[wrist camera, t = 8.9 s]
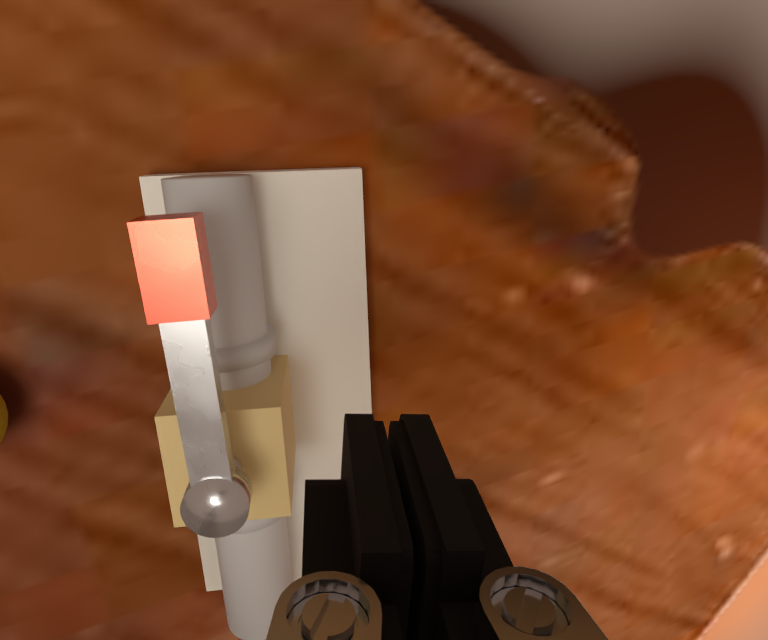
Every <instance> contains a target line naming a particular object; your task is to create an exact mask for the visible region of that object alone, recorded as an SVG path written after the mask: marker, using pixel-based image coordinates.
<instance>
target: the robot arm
mask: <svg viewBox="0 0 768 640" xmlns="http://www.w3.org/2000/svg"><path fill="white" fill-rule="evenodd" d="M266 640H608V638H607V637H606V636H605V634H604V633H603V632H602V631H601V629H600V628H599V627H598V625H597V624H596V623H595V621H594V620H593V619H592V617H591V616H590V615H589V613H588V612H587V611H586V610H585V608H584V607H583V606H582V604H581V603H580V602H579V600H578V599H577V598H576V596H575V595H574V594H573V593H572V592H571V591H570V590H569V589H568V588H567V587H566V586H565V585H564V584H563V583H561V582H560V581H558V580H557V579H555V578H554V577H552V576H551V575H548V574H546V573H543V572H541V571H539V570H536V569H531V568H526V567H521V566H516V567H514V566H513V564H512V562H511V560H510V558H509V556H508V553H507V551H506V549H505V547H504V545H503V543H502V541H501V539H500V536H499V534H498V532H497V530H496V528H495V526H494V524H493V521H492V519H491V517H490V515H489V513H488V511H487V509H486V506H485V504H484V502H483V500H482V498H481V496H480V494H479V491H478V489H477V487H476V485H475V483H474V482H473V480H471V479H456V478H455V476H454V474H453V471H452V469H451V467H450V464H449V462H448V459H447V457H446V455H445V452H444V450H443V447H442V445H441V443H440V440H439V438H438V435H437V433H436V431H435V428H434V426H433V423H432V421H431V419H430V416H429V415H425V414H401V415H400V419H399V421H391V422H390V425H389V435H388V439H387V435H386V431H385V427H384V423H383V421H374V418H373V414H346V413H345V416H344V429H343V446H342V463H341V479H305V495H304V522H303V552H302V577H301V578H299V579H297V580H296V581H294V582H292V583H291V584H290V585H289V586H288V587H287V588H286V589H285V590H284V591H283V592H282V593H281V595H280V597H279V599H278V601H277V603H276V605H275V609H274V612H273V616H272V620H271V623H270V627H269V630H268V634H267V638H266Z"/></svg>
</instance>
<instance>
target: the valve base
mask: <svg viewBox="0 0 768 640" xmlns="http://www.w3.org/2000/svg"><path fill="white" fill-rule="evenodd" d="M139 180H140V186H141V192H142V198H143V204H144V210H145V216H146V215H161V214H175V213H189V212H203V217H204V224H205V230H206V236H207V243H208V249H209V255H210V261H211V268H212V274H213V280H214V287H215V293H216V299H217V305H218V306H217V308H216V310H215V311H214V313H213V315H212V317H211V318H210V320H211V326H212V333H213V339H214V345H215V351H216V357H217V363H218V369H219V375H220V381H221V387H222V393H223V399H224V406H225V412H226V418H227V424H228V430H229V436H230V442H231V448H232V454H233V460H234V466H237V467H238V468H240V469H241V470H243V471H244V472H245V473H246V474H247V475H248V477H249V479H250V481H251V483H252V489H253V491H252V498H251V503H250V509H249V514H248V518H247V520H246V522H245V524H244V525H243V526H242V527H241V528H240V529H239V530H238V531H236V532H235V533H233V534H231V535H229V536H225V537H220V538H209V537H204V536H201V535H198V534H197V535H198V541H199V548H200V554H201V560H202V566H203V572H204V578H205V584H206V590H207V591H215V590H223V595H224V602H225V609H226V615H227V622H228V626H229V629H230V631H231V632H232V633H233V634H234V635H235V636H236V637H238V638H240V639H243V640H265V639H266V638H267V634H268V630H269V627H270V623H271V620H272V616H273V612H274V609H275V605H276V603H277V601H278V599H279V597H280V595H281V593H282V592H283V591H284V590H285V589H286V588H287V587H288V586H289V585H290V584H291V583H292V582H294V581H296V580H297V579H299V578H301V577H302V552H303V522H304V495H305V479H341V463H342V446H343V429H344V416H345V413H346V414H372V406H371V382H370V357H369V332H368V307H367V282H366V258H365V233H364V208H363V183H362V168H360V167H338V168H311V169H283V170H256V171H228V172H201V173H174V174H149V175H145V176H140V177H139ZM155 423H156V428H157V434H158V439H159V445H160V451H161V456H162V462H163V467H164V473H165V479H166V484H167V490H168V496H169V501H170V507H171V512H172V518H173V524H174V527H184V526H186V525H185V523H184V522H183V520H182V518H181V514H180V505H181V501H182V499H183V496H184V493H185V491H186V488H187V485H188V483H189V476H188V471H187V465H186V460H185V455H184V450H183V445H182V440H181V435H180V430H179V425H178V420H177V414H176V409H175V404H174V399H173V394H172V389H170V391H169V393H168V394H167V396H166V398H165V400H164V401H163V403H162V405H161V407H160V408H159V410H158V412H157V413H156V415H155Z"/></svg>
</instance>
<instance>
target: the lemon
mask: <svg viewBox="0 0 768 640" xmlns="http://www.w3.org/2000/svg"><path fill="white" fill-rule="evenodd" d="M7 426H8V410H7V407H6V403H5V401H4V400H3V398H2V396H1V395H0V443H1V441H2V440H3V437H4V435H5V432H6V429H7Z"/></svg>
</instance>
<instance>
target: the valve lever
mask: <svg viewBox="0 0 768 640" xmlns="http://www.w3.org/2000/svg"><path fill="white" fill-rule="evenodd" d="M127 226H128V231H129V236H130V241H131V246H132V251H133V256H134V261H135V265H136V270H137V275H138V280H139V285H140V290H141V295H142V300H143V305H144V310H145V315H146V320H147V325H149V324H159V328H160V333H161V338H162V343H163V348H164V353H165V358H166V363H167V369H168V374H169V379H170V384H171V389H172V394H173V399H174V404H175V409H176V414H177V420H178V425H179V430H180V435H181V440H182V445H183V450H184V455H185V460H186V465H187V471H188V476H189V483H188V485H187V488H186V491H185V493H184V496H183V499H182V501H181V505H180V514H181V518H182V520H183V522H184V523H185V525H186V526H187V527H188V528H189V529H190V530H191V531H193V532H194V533H196V534H198V535H201V536H204V537H209V538H220V537H225V536H229V535H231V534H233V533H235V532H236V531H238V530H239V529H240V528H241V527H242V526H243V525H244V524H245V522H246V520H247V518H248V514H249V509H250V503H251V498H252V491H253V489H252V483H251V481H250V479H249V477H248V475H247V474H246V473H245V472H244V471H243V470H241V469H240V468H238V467H237V466H234V460H233V454H232V448H231V442H230V436H229V430H228V424H227V418H226V412H225V406H224V399H223V393H222V387H221V381H220V375H219V369H218V363H217V357H216V351H215V345H214V339H213V333H212V326H211V320H210V318H211V317H212V315H213V313H214V311H215V310H216V308H217V306H218V305H217V299H216V293H215V287H214V280H213V274H212V268H211V261H210V255H209V249H208V243H207V236H206V230H205V224H204V217H203V212H189V213H175V214H161V215H146V216H140V217H138V218H135V219H133V220H131V221H129V222H127Z"/></svg>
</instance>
